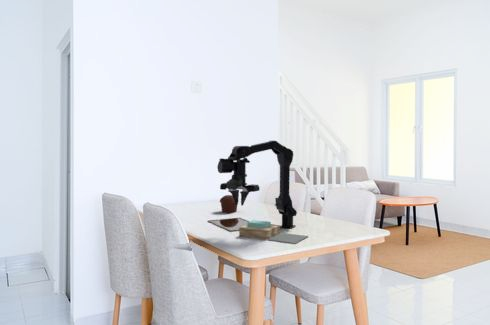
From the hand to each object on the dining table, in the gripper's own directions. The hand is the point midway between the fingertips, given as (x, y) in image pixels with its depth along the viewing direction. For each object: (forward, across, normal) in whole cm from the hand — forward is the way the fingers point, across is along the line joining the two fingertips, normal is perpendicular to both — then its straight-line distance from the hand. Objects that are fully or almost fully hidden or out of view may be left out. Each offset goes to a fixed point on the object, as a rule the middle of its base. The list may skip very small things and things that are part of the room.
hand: (239, 205), depth 201 cm
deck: (+13, +11, 0) cm, 17 cm away
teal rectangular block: (+9, +10, 0) cm, 14 cm away
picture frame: (+14, -11, +14) cm, 23 cm away
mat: (+13, +25, 0) cm, 28 cm away
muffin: (+13, -34, +46) cm, 58 cm away
